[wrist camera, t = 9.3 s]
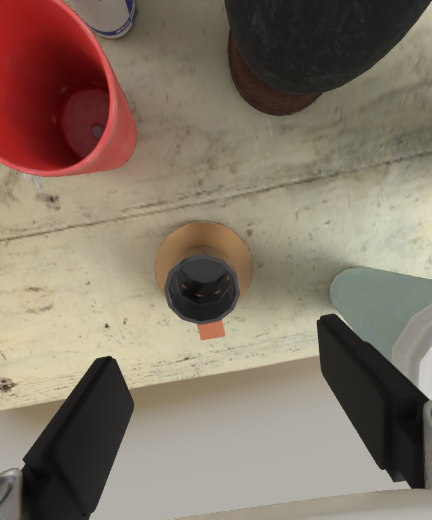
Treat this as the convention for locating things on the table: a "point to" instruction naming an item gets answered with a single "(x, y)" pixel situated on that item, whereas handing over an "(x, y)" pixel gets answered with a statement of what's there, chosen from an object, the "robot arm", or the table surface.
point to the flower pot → (58, 94)
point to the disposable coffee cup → (390, 317)
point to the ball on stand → (309, 46)
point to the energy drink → (107, 16)
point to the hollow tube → (203, 289)
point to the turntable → (204, 236)
